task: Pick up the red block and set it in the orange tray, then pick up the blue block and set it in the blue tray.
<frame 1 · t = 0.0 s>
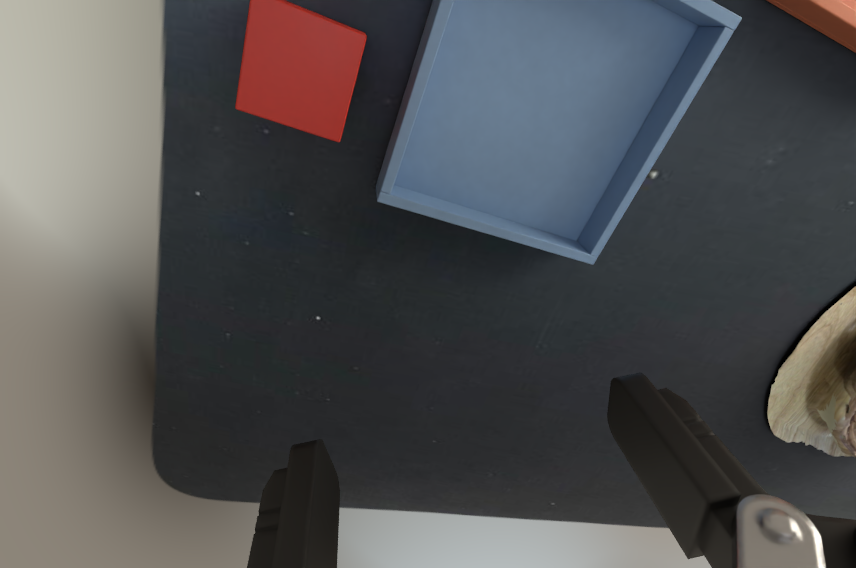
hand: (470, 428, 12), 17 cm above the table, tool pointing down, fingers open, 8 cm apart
blue tray: (533, 106, 24), on the table
red block: (310, 64, 22), on the table
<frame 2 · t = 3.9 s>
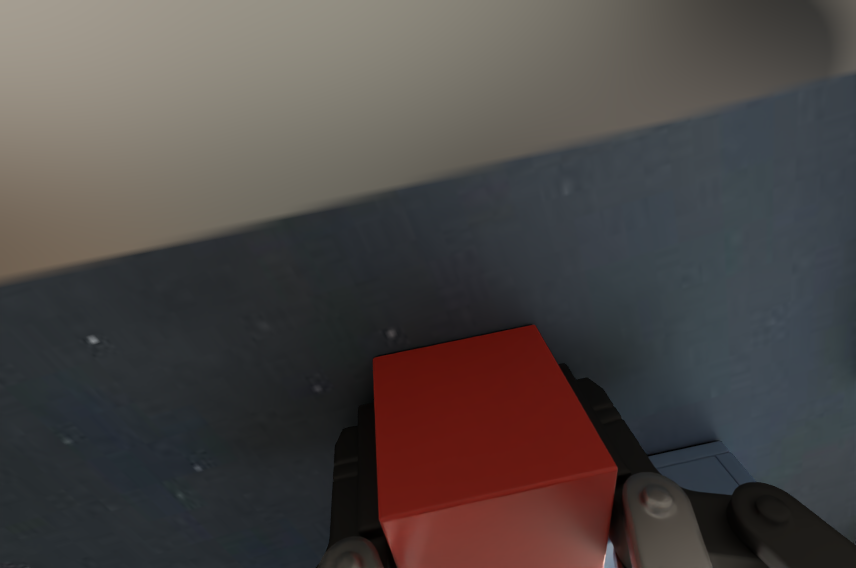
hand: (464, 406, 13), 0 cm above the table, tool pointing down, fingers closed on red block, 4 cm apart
red block: (462, 397, 13), on the table, touching gripper
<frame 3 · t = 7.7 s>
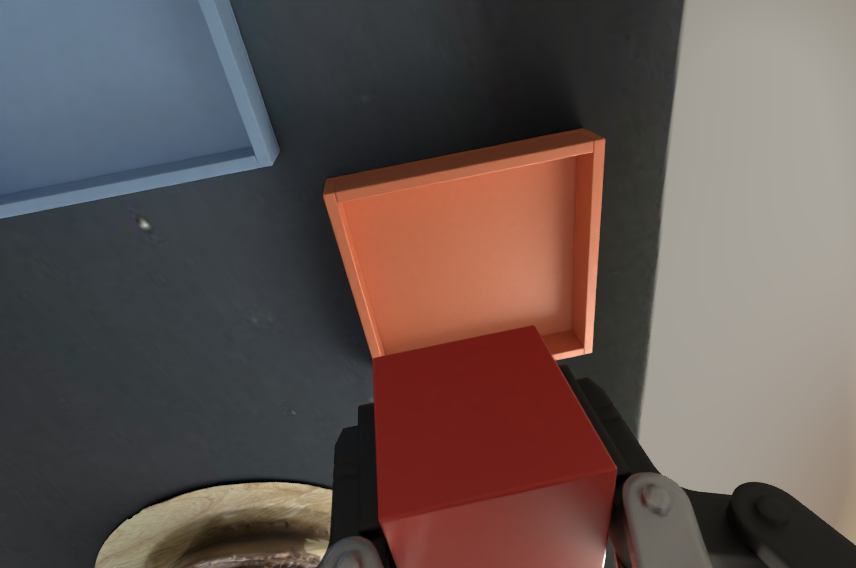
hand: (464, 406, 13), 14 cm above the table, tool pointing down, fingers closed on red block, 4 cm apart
blue tray: (54, 14, 18), on the table
orange tray: (469, 265, 27), on the table
red block: (462, 398, 13), point 14 cm above the table, touching gripper
pie: (269, 567, 42), on the table
when the fingers open (1 cm above the table, at t = 11.6 s): red block stays where it is, resting on orange tray.
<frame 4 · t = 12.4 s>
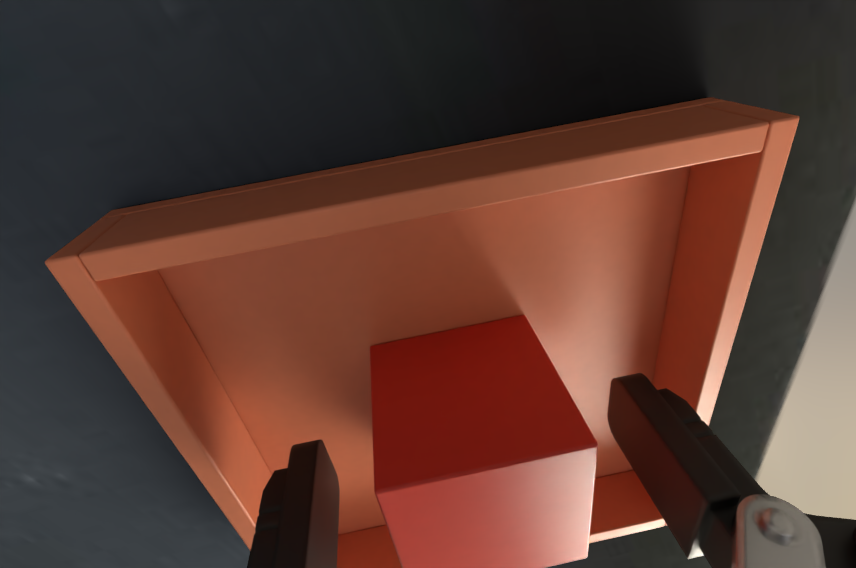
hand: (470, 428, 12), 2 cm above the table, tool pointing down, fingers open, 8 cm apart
orange tray: (453, 373, 14), on the table
red block: (456, 385, 13), resting on orange tray
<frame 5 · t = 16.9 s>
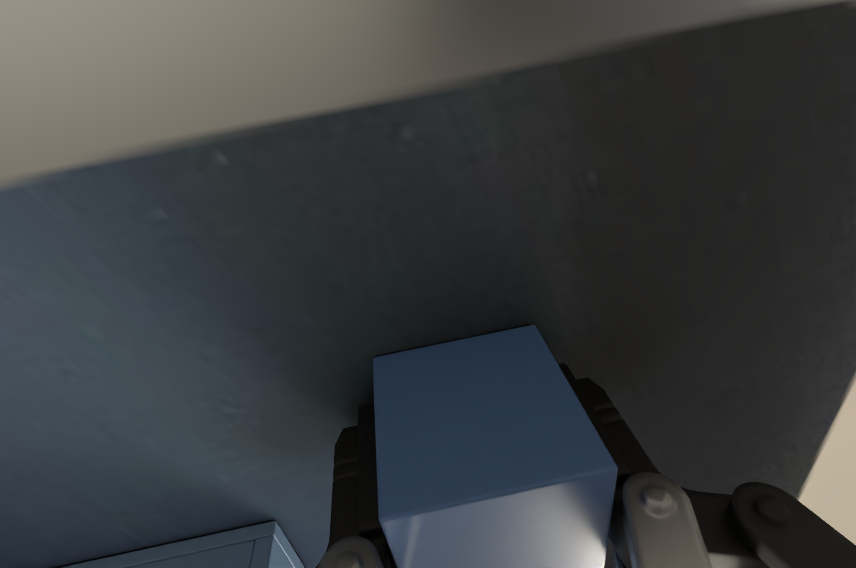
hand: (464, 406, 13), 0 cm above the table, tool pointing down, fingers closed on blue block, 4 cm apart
blue block: (462, 397, 13), on the table, touching gripper
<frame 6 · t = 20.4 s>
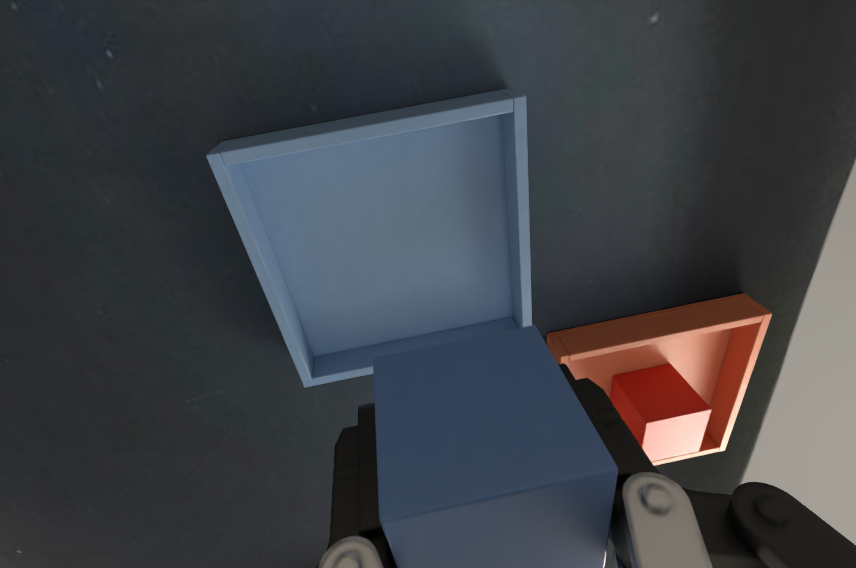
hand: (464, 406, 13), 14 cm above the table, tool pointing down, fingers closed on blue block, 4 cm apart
blue tray: (394, 243, 25), on the table
orange tray: (635, 385, 34), on the table
blue block: (463, 398, 13), point 13 cm above the table, touching gripper
red block: (638, 390, 33), resting on orange tray
when the fingers open (1 cm above the table, at t = 23.8 s): blue block stays where it is, resting on blue tray.
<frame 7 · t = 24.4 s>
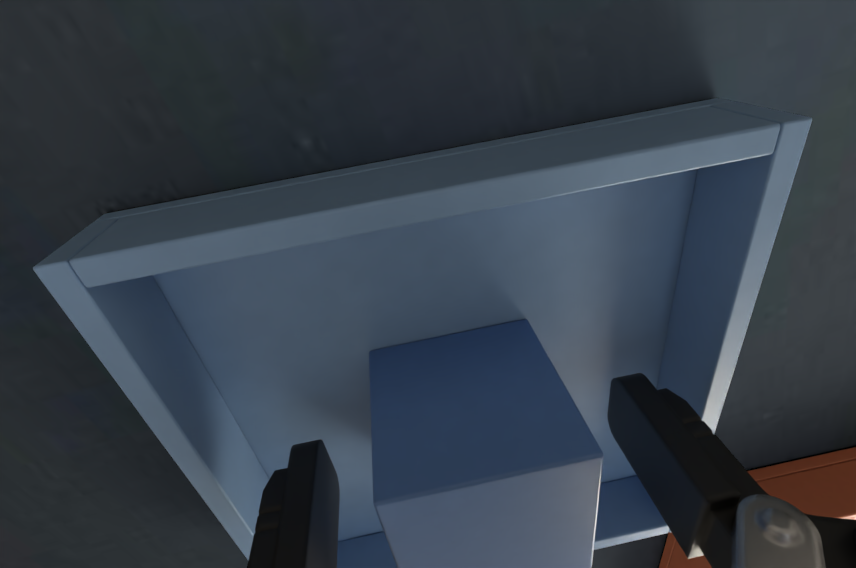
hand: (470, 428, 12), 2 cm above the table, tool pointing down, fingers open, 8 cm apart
blue tray: (455, 379, 14), on the table
orange tray: (788, 536, 23), on the table
blue block: (457, 390, 13), resting on blue tray
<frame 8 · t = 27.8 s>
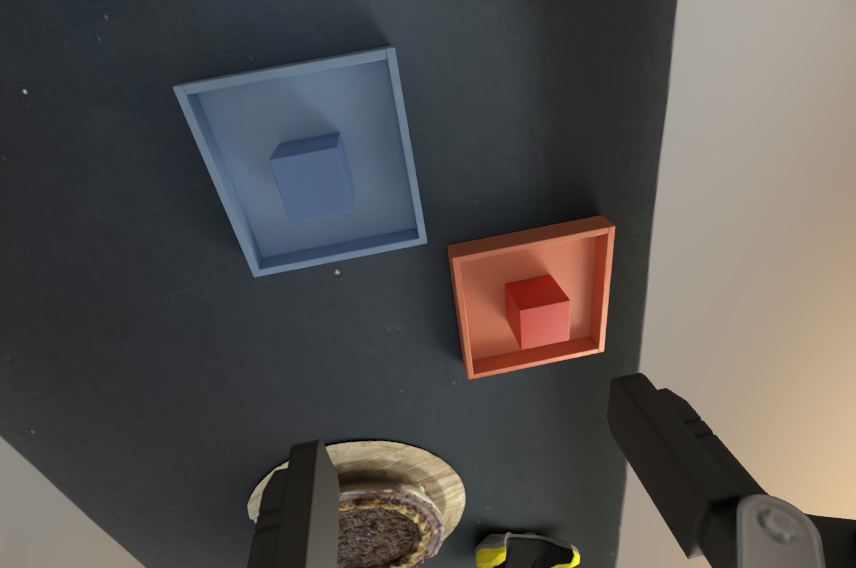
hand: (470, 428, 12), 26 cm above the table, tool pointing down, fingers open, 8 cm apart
blue tray: (319, 165, 33), on the table
orange tray: (526, 295, 42), on the table
blue block: (318, 167, 33), resting on blue tray
black and yellow shoe: (514, 536, 66), on the table
red block: (528, 298, 42), resting on orange tray
pie: (362, 509, 57), on the table
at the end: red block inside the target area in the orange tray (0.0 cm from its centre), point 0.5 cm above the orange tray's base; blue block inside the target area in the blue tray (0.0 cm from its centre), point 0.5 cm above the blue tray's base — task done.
